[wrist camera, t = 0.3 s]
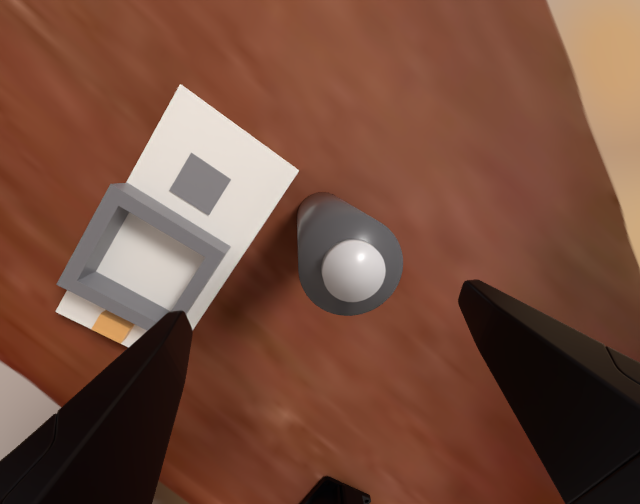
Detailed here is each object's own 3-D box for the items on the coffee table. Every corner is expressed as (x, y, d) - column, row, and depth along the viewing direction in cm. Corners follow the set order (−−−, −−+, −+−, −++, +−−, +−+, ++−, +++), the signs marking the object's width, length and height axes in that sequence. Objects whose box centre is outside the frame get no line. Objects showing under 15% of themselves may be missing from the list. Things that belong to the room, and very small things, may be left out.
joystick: (347, 240, 25) (406, 318, 11) (298, 243, 24) (302, 327, 11) (346, 190, 23) (410, 214, 10) (295, 193, 23) (295, 221, 10)
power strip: (175, 356, 26) (157, 383, 23) (69, 303, 24) (33, 324, 21) (298, 170, 23) (299, 170, 19) (188, 90, 21) (167, 74, 17)
